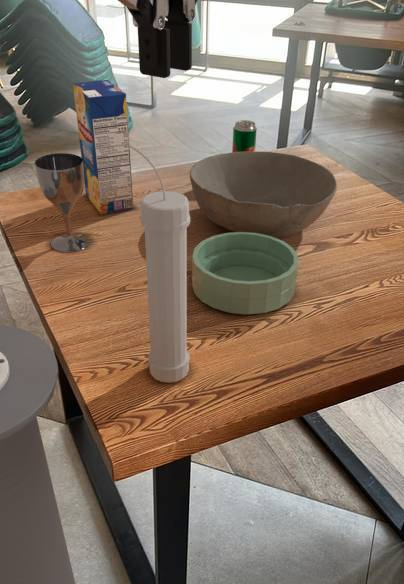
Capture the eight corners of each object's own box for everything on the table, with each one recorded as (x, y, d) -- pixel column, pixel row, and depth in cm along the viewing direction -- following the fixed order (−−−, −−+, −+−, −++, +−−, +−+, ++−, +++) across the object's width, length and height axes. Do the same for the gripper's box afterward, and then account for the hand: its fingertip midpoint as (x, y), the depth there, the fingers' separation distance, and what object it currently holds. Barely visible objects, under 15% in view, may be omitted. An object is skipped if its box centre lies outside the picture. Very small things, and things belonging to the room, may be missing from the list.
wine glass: (63, 229, 109) (51, 150, 100) (100, 237, 107) (91, 157, 97) (39, 248, 103) (24, 165, 94) (78, 256, 101) (66, 173, 92)
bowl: (190, 255, 102) (190, 202, 96) (188, 193, 124) (188, 146, 117) (342, 255, 103) (353, 202, 97) (314, 193, 125) (321, 146, 118)
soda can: (241, 183, 128) (245, 128, 121) (226, 176, 131) (228, 122, 124) (257, 178, 131) (261, 123, 123) (242, 171, 134) (245, 118, 126)
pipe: (189, 385, 75) (189, 155, 56) (141, 384, 75) (126, 154, 56) (190, 358, 79) (191, 137, 60) (145, 357, 79) (132, 136, 60)
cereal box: (101, 214, 115) (89, 97, 101) (85, 194, 122) (72, 83, 108) (133, 209, 117) (126, 93, 103) (116, 189, 125) (107, 79, 111)
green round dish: (224, 328, 85) (226, 294, 81) (175, 277, 96) (174, 244, 92) (314, 300, 91) (320, 267, 87) (258, 255, 102) (260, 224, 99)
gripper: (178, -179, 51) (180, 52, 62) (47, -202, 40) (79, 83, 51) (253, -183, 48) (241, 62, 59) (133, -208, 37) (147, 96, 48)
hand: (166, 69), depth 55 cm, fingers closed
